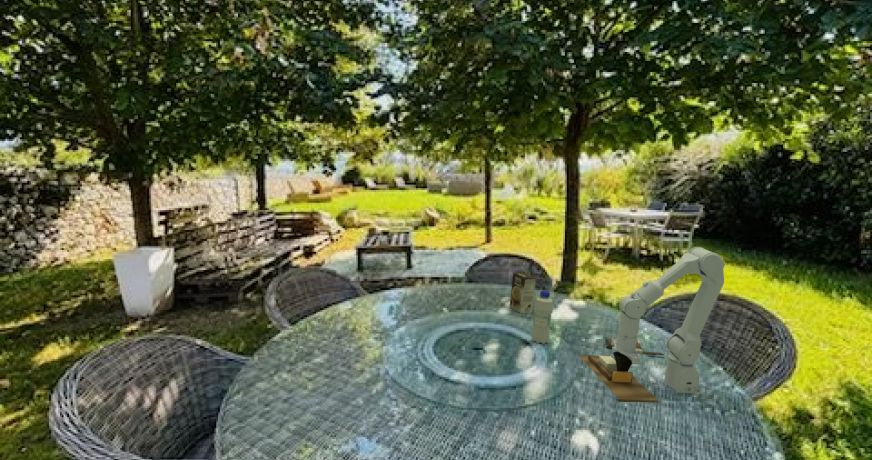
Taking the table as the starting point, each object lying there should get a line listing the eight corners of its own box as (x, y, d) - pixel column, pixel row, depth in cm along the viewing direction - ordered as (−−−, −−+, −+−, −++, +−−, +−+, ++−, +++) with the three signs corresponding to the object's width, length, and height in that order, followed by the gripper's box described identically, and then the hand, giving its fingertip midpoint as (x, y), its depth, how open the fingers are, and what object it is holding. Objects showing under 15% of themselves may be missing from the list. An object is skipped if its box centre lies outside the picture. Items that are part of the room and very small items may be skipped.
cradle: (658, 402, 141) (659, 395, 141) (618, 401, 140) (619, 394, 139) (610, 358, 171) (611, 352, 170) (578, 357, 169) (578, 351, 169)
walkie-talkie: (607, 353, 175) (664, 359, 174) (609, 342, 175) (666, 347, 174) (601, 344, 184) (655, 349, 183) (602, 333, 183) (656, 338, 182)
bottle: (527, 343, 178) (533, 290, 175) (533, 337, 184) (539, 286, 181) (545, 348, 175) (552, 294, 172) (550, 342, 181) (557, 290, 178)
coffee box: (508, 307, 219) (512, 272, 217) (520, 306, 222) (524, 271, 220) (520, 313, 211) (524, 277, 209) (532, 312, 214) (536, 277, 211)
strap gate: (632, 382, 150) (633, 373, 150) (613, 381, 150) (614, 372, 149) (630, 380, 151) (632, 371, 151) (611, 380, 151) (613, 371, 150)
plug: (617, 372, 157) (619, 364, 157) (606, 372, 157) (607, 363, 156) (609, 364, 163) (610, 356, 163) (597, 364, 163) (599, 355, 162)
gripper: (604, 325, 157) (599, 365, 160) (626, 343, 143) (620, 386, 145) (625, 326, 158) (619, 365, 160) (649, 344, 144) (642, 387, 146)
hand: (621, 375), depth 153 cm, fingers closed
